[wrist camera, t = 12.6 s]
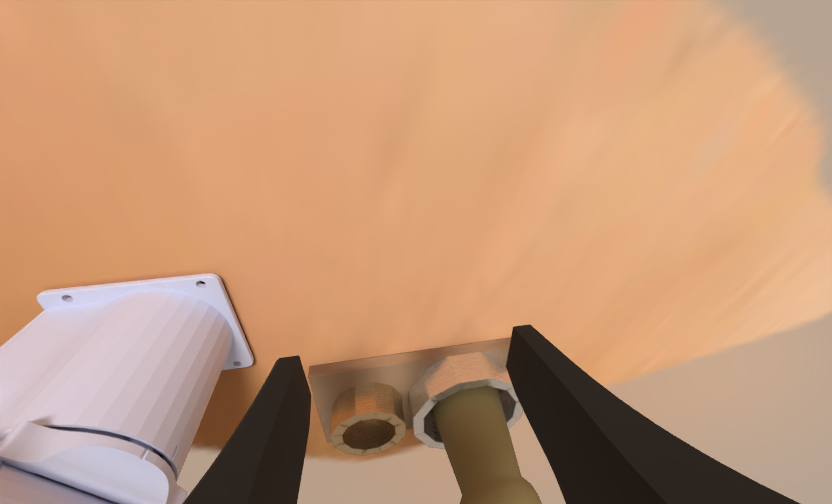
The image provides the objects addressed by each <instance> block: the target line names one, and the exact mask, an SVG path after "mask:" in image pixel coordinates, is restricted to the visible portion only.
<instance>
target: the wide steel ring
mask: <svg viewBox="0 0 832 504" xmlns="http://www.w3.org/2000/svg"><path fill="white" fill-rule="evenodd" d="M482 386H490V387H494V388H499V389H502V390H501V391H500V392H499V397H500V401H501V404H502V408H503V412H504V415H505V419H506V422H507V426H508V429H509V428H510V427H511V426H512V425H514V424H515V423H516V422H517V421H518V420H519V419H520V418H521V417H522V413H523V408H522V406H521V404H520V402H519V400H518V398H517V396H516V393H515V391H514V388H513V385H512V383H511V380H510V377H509V374H508V371H507V368H506V362H505V361H504V359H503V358H500V357H496V356H493V355H489V354H485V353H482V352H474V353H468V354H461V355H454V356H449V357H447V358H445V359H443V360H441V361H440V362H438V363H436V364H434V365H432V366H430V367H428V368H427V369H425V370H423V371H422V372H421V374H420V375H419V376H418V378H417V379H416V380H415V382H414V383H413V384H412V386H411V387H410V388H409V406H410V413H411V419H412V425H413V432H414V436H415V437H416V438H418V439H419V440H420V441H422V442H423V443H424V444H426V445H427V446H428V447H432V448H440V449H445V446H444V444H443V441H442V438H441V436H440V433H439V430H438V427H437V425H436V422H435V419H434V416H433V414H429V413H428V412H429V411H430V410H431V409H432V407H433V406H434V405H435V404H436V403H437V402H438V401H440V400H442V399H444V398H446V397H448V396H450V395H452V394H453V393H455V392H457V391H459V390H463V389H469V388H476V387H482Z"/></svg>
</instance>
